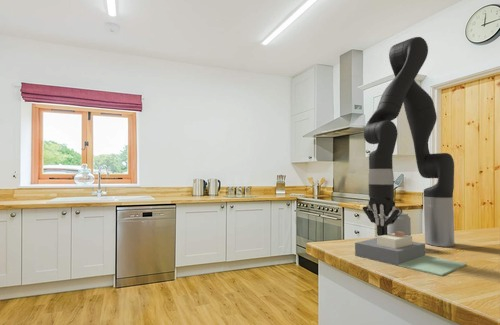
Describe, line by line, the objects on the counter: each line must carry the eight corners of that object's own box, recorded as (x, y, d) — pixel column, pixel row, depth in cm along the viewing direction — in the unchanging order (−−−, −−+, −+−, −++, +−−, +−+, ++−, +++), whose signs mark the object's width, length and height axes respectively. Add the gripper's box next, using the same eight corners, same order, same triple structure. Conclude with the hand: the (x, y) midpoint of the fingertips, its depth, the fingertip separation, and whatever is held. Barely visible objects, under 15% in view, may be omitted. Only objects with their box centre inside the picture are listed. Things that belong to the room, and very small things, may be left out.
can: (414, 249, 105) (413, 214, 105) (390, 248, 106) (389, 213, 107) (407, 244, 112) (406, 211, 112) (385, 243, 113) (384, 211, 114)
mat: (425, 256, 95) (425, 255, 95) (466, 264, 86) (466, 263, 86) (398, 265, 86) (398, 264, 86) (441, 276, 77) (441, 274, 77)
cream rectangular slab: (393, 241, 99) (393, 230, 100) (412, 244, 94) (411, 233, 95) (377, 244, 94) (376, 233, 95) (395, 248, 89) (395, 236, 90)
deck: (383, 248, 106) (382, 236, 107) (425, 256, 95) (425, 243, 95) (355, 255, 97) (354, 242, 97) (398, 265, 86) (398, 251, 86)
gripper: (407, 183, 96) (408, 239, 95) (369, 182, 107) (370, 232, 106) (394, 183, 92) (395, 242, 91) (356, 182, 102) (357, 235, 102)
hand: (382, 237), depth 98 cm, fingers closed
